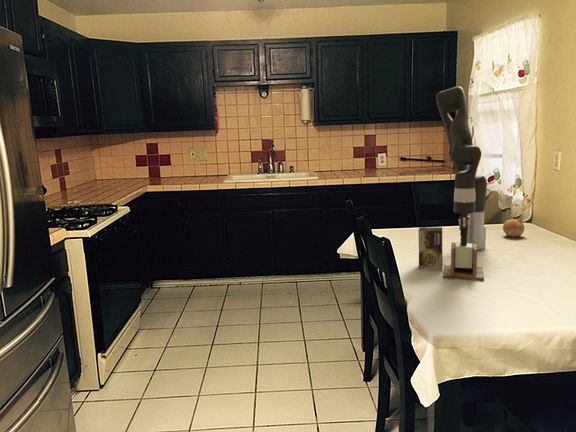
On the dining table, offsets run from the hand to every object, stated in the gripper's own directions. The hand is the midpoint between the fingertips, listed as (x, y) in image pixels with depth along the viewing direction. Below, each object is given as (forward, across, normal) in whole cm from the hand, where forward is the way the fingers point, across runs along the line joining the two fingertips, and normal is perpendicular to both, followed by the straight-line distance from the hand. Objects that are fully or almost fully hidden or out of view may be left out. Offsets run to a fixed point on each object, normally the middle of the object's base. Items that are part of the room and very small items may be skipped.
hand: (463, 245), depth 180 cm
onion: (+11, -65, +23) cm, 70 cm away
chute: (+11, 0, 0) cm, 11 cm away
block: (+8, 0, 0) cm, 8 cm away
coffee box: (+12, -6, -12) cm, 18 cm away
